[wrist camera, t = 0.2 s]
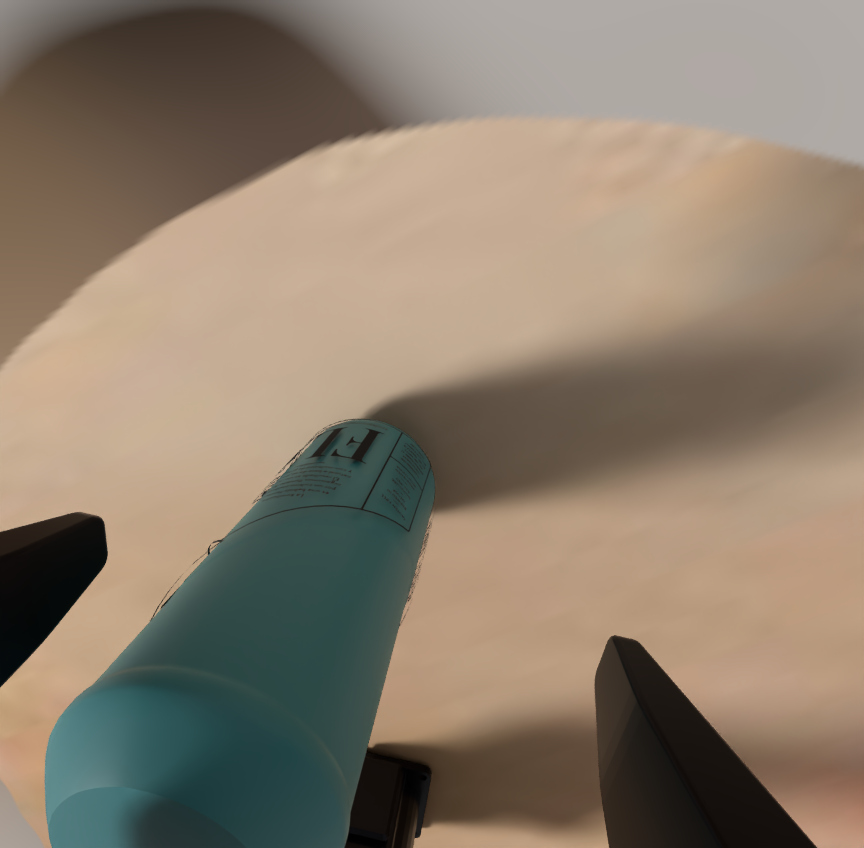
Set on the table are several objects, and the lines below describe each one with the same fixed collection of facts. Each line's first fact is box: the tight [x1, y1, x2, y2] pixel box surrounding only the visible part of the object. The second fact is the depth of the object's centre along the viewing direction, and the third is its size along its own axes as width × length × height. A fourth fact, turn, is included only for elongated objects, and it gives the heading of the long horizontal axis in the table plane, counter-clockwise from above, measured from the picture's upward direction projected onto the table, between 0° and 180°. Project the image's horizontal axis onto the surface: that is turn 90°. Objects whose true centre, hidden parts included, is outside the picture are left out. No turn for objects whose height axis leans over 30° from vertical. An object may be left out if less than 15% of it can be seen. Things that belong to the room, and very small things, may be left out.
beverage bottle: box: [45, 419, 435, 848], centre depth 15 cm, size 6×7×20 cm
